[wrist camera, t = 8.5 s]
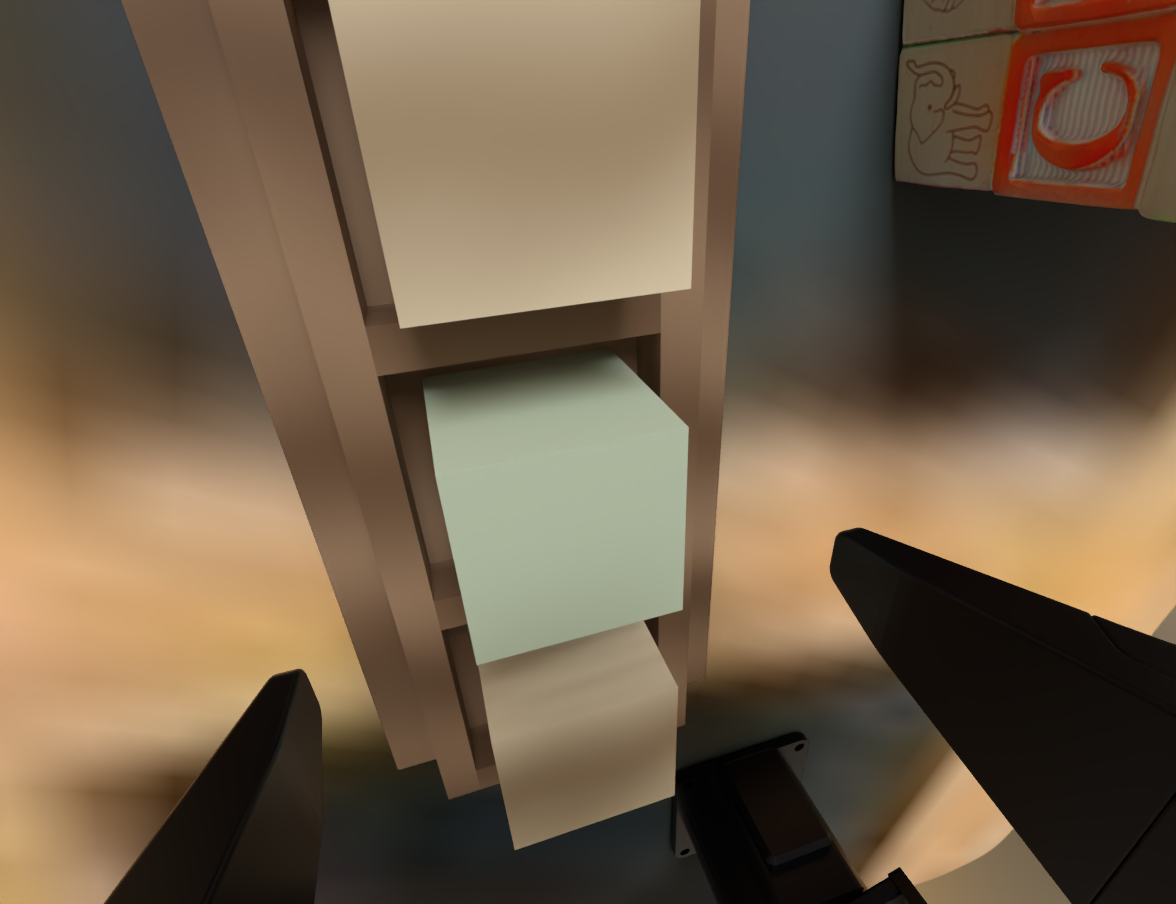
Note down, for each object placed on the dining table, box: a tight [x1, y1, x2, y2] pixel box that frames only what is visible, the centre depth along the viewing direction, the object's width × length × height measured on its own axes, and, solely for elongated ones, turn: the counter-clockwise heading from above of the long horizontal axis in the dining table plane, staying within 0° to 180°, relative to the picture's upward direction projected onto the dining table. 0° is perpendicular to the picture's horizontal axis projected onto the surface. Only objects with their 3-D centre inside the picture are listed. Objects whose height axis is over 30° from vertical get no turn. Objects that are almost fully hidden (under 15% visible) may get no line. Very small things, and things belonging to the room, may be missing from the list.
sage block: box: [422, 348, 689, 665], centre depth 13 cm, size 4×4×4 cm
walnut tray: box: [121, 0, 750, 799], centre depth 15 cm, size 22×11×2 cm, turn 3°
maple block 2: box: [478, 620, 678, 850], centre depth 17 cm, size 4×4×4 cm
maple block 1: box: [328, 0, 701, 329], centre depth 10 cm, size 4×4×4 cm
